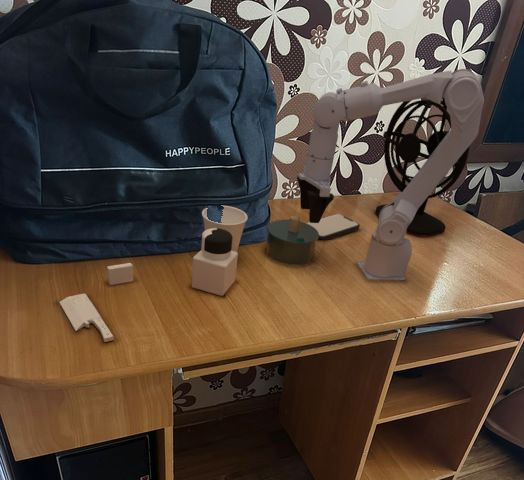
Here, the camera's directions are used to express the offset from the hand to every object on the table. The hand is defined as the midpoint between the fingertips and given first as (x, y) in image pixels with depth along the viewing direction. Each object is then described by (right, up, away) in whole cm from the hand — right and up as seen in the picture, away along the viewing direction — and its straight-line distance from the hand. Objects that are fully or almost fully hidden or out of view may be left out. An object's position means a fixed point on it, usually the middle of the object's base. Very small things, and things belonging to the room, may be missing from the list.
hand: (309, 215), depth 116 cm
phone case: (+7, +1, +21) cm, 22 cm away
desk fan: (+31, +6, +32) cm, 45 cm away
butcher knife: (-43, -26, -25) cm, 56 cm away
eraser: (-40, -17, -13) cm, 45 cm away
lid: (-4, -4, +2) cm, 6 cm away
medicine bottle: (-21, -17, -9) cm, 29 cm away
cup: (-20, -11, 0) cm, 23 cm away
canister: (-4, -8, +6) cm, 11 cm away
